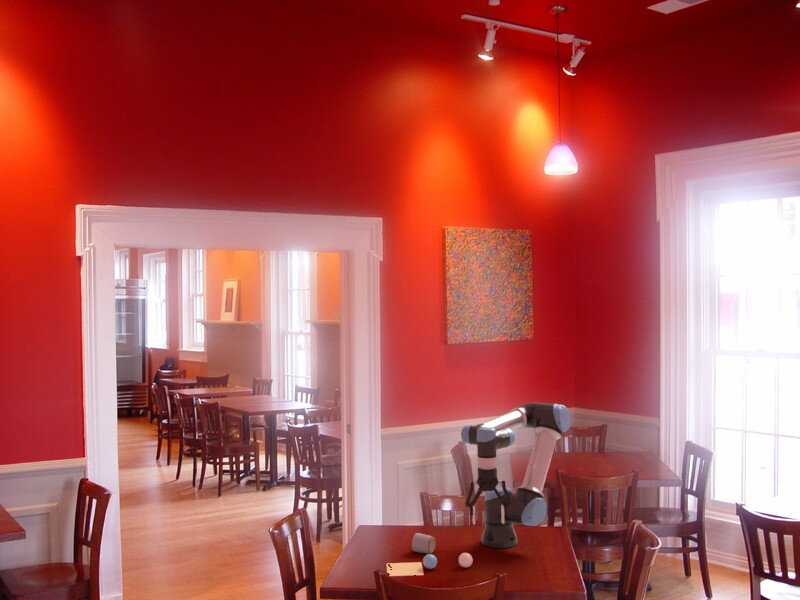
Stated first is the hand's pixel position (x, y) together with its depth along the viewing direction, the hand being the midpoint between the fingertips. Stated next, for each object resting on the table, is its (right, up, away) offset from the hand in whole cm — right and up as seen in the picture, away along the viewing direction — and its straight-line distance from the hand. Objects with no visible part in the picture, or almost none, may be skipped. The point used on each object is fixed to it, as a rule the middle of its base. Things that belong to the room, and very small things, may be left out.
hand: (488, 523), depth 306 cm
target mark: (-33, -18, -1) cm, 37 cm away
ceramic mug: (-24, -18, +20) cm, 36 cm away
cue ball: (-9, -14, 0) cm, 17 cm away
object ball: (-23, -15, -1) cm, 27 cm away
